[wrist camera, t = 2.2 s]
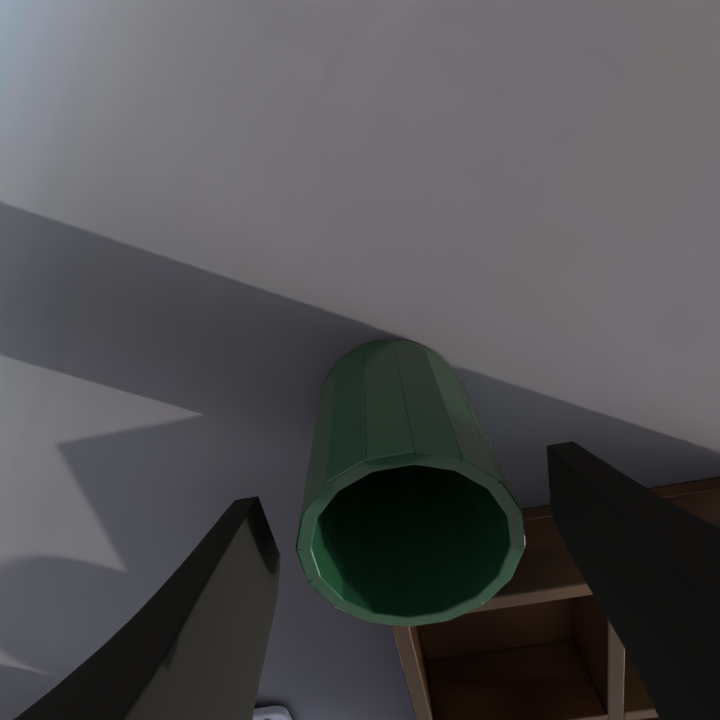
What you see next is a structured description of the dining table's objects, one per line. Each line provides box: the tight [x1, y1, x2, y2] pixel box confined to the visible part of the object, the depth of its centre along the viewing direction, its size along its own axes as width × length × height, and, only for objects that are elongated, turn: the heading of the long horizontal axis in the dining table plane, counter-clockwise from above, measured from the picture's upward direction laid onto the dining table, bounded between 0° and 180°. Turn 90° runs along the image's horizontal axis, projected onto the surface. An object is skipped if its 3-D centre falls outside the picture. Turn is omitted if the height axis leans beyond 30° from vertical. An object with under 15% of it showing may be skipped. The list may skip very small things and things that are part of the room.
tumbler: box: [296, 339, 526, 627], centre depth 13 cm, size 5×5×6 cm
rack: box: [391, 477, 720, 720], centre depth 19 cm, size 15×15×4 cm
